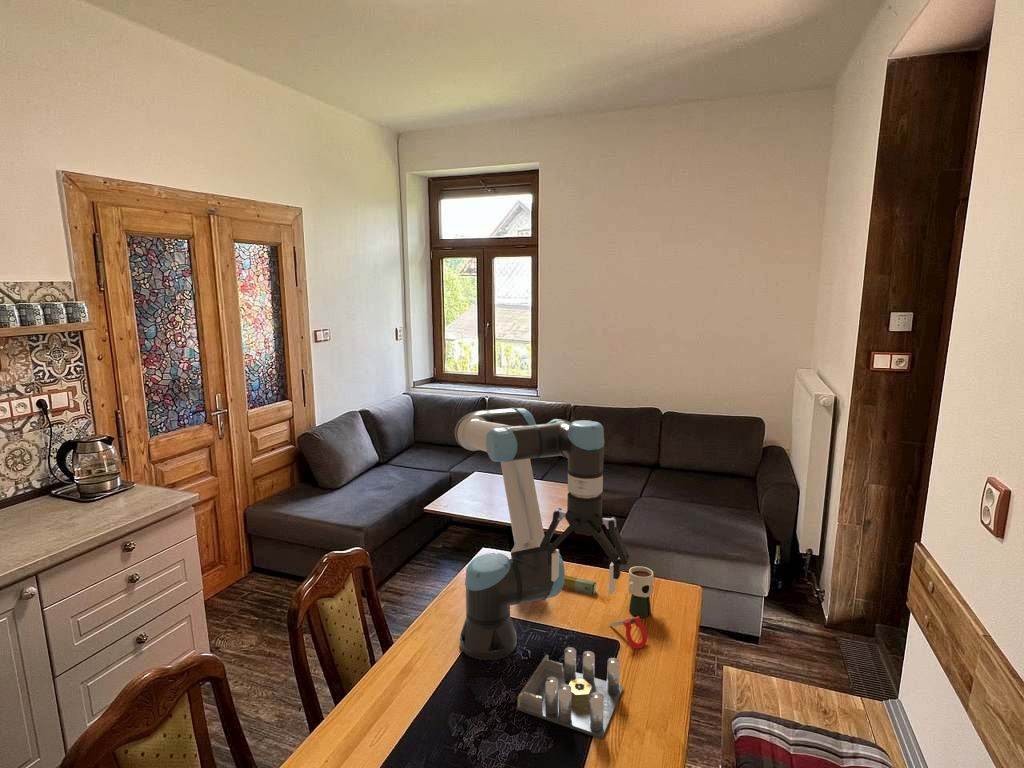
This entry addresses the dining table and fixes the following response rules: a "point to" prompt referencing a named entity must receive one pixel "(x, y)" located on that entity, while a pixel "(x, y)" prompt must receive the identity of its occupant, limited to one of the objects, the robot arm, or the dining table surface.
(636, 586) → the character mug
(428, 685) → the dining table surface
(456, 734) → the dining table surface
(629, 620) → the tow hook
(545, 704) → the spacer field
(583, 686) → the nut
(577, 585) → the medication box
